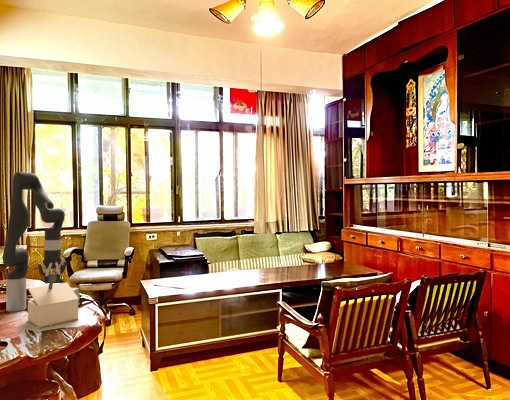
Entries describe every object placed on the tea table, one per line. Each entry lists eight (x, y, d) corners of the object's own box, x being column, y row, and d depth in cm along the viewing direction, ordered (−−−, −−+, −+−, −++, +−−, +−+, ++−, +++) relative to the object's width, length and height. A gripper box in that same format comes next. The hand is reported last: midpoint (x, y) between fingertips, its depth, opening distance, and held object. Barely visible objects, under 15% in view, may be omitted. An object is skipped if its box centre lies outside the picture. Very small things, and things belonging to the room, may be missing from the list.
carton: (27, 320, 192) (27, 300, 192) (65, 313, 205) (65, 294, 205) (39, 328, 181) (39, 307, 181) (78, 319, 194) (78, 299, 194)
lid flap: (28, 289, 191) (30, 273, 189) (66, 283, 204) (69, 268, 202) (38, 307, 181) (41, 290, 178) (78, 299, 194) (81, 284, 192)
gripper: (64, 246, 201) (63, 279, 202) (34, 248, 191) (33, 283, 191) (70, 248, 196) (69, 281, 197) (39, 250, 186) (38, 286, 186)
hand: (51, 282), depth 194 cm, fingers closed on lid flap, 4 cm apart
